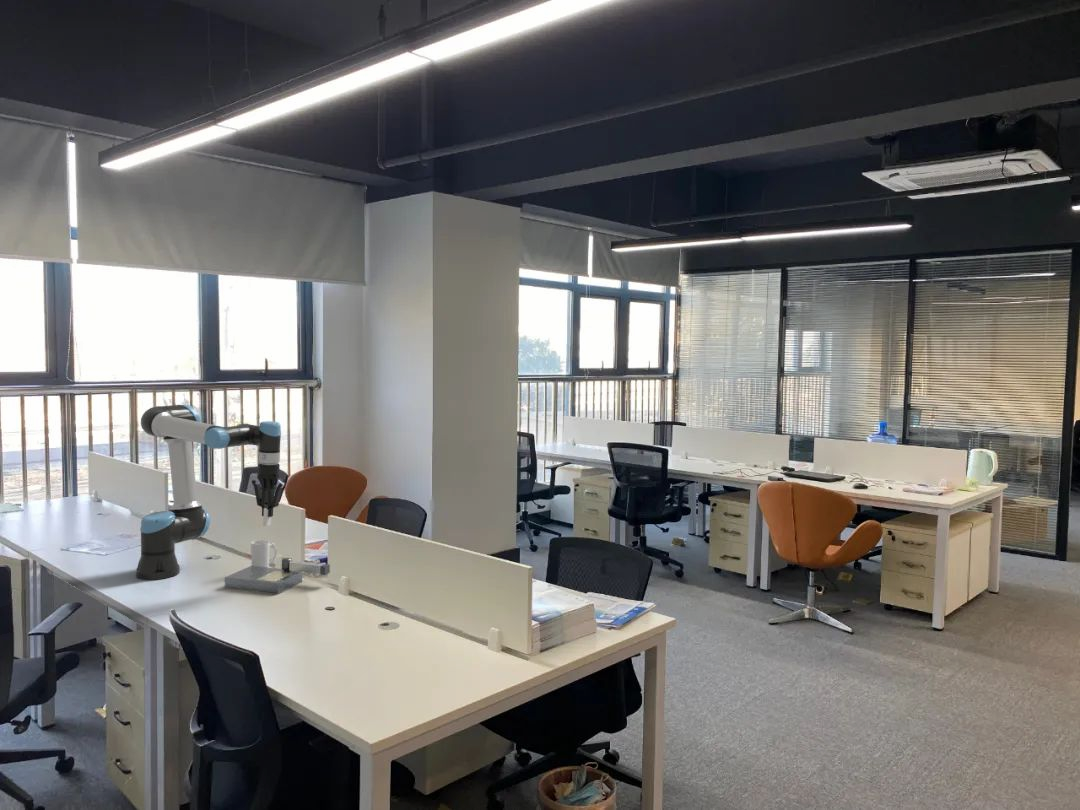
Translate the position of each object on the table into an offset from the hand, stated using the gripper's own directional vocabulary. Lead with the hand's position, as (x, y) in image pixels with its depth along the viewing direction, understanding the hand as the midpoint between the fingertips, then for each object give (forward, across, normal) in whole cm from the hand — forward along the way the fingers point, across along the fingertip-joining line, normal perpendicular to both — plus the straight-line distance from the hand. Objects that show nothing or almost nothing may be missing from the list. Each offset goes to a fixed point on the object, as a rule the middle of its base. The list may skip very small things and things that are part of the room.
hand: (267, 525), depth 290 cm
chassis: (+22, +2, -3) cm, 22 cm away
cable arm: (+17, +14, +4) cm, 22 cm away
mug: (+23, -8, +12) cm, 27 cm away
